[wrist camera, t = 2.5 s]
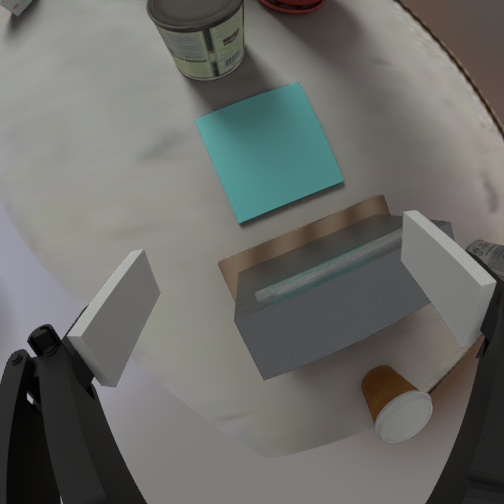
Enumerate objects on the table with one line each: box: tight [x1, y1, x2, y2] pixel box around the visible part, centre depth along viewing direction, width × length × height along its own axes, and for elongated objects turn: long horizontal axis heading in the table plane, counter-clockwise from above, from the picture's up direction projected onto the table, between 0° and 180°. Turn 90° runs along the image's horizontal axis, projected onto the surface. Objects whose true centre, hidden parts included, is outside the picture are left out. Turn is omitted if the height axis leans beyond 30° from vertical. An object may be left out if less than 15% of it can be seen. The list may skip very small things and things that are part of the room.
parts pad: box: [195, 82, 344, 223], centre depth 36 cm, size 15×15×1 cm
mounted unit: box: [218, 195, 454, 380], centre depth 30 cm, size 24×10×18 cm, turn 113°
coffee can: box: [147, 0, 245, 81], centre depth 27 cm, size 10×10×14 cm
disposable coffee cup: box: [362, 366, 433, 443], centre depth 36 cm, size 10×10×12 cm
